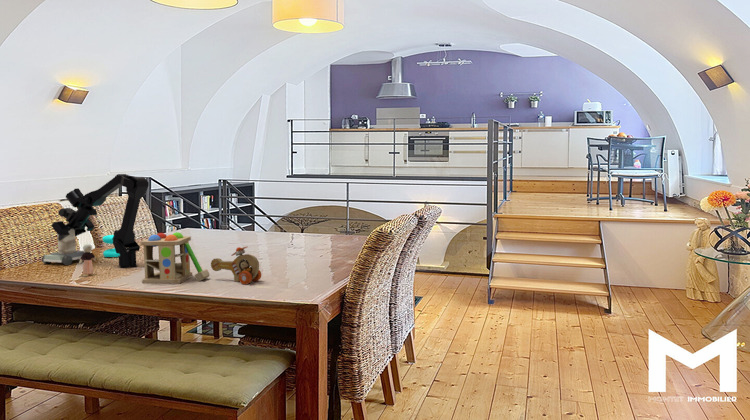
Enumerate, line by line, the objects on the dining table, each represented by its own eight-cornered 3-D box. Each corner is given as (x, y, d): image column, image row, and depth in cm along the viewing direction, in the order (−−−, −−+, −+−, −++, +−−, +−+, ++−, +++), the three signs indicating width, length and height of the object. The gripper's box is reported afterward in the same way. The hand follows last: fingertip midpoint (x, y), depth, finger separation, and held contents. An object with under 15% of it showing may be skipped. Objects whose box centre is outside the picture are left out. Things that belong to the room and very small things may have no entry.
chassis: (70, 258, 275) (70, 249, 275) (93, 260, 271) (92, 250, 270) (41, 264, 260) (40, 254, 260) (64, 266, 256) (63, 255, 255)
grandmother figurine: (86, 277, 231) (85, 245, 230) (78, 276, 232) (76, 244, 231) (99, 273, 239) (98, 242, 237) (91, 273, 239) (89, 242, 238)
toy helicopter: (252, 285, 215) (251, 248, 213) (205, 281, 222) (204, 245, 221) (264, 281, 222) (263, 245, 221) (218, 277, 230) (217, 242, 229)
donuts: (117, 233, 287) (129, 235, 282) (117, 254, 288) (130, 255, 282) (97, 236, 279) (110, 237, 273) (98, 257, 280) (111, 258, 274)
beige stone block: (76, 253, 267) (74, 224, 265) (67, 255, 262) (65, 226, 261) (67, 252, 268) (65, 224, 267) (58, 254, 264) (56, 225, 262)
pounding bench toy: (214, 276, 233) (212, 231, 231) (202, 283, 219) (201, 235, 217) (156, 276, 233) (155, 231, 232) (141, 283, 219) (139, 235, 218)
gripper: (87, 200, 270) (70, 223, 275) (53, 203, 253) (35, 228, 258) (102, 218, 269) (84, 241, 273) (68, 222, 251) (50, 247, 256)
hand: (64, 239), depth 265 cm, fingers closed on beige stone block, 5 cm apart
